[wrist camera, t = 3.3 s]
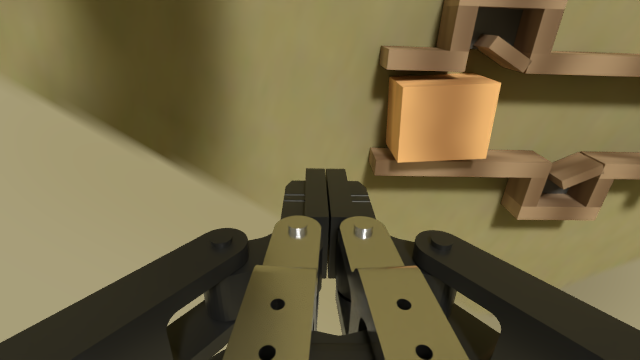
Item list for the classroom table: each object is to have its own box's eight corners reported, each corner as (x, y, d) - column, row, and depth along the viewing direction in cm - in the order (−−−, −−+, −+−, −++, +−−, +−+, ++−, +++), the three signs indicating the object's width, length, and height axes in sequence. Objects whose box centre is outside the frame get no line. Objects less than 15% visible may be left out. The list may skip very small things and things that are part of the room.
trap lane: (364, 201, 28) (372, 229, 24) (387, -18, 21) (404, -24, 17) (638, 205, 29) (684, 231, 25) (749, -3, 22) (835, -7, 18)
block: (385, 142, 26) (397, 162, 22) (388, 76, 24) (403, 87, 20) (461, 138, 26) (485, 158, 22) (472, 72, 24) (501, 82, 20)
